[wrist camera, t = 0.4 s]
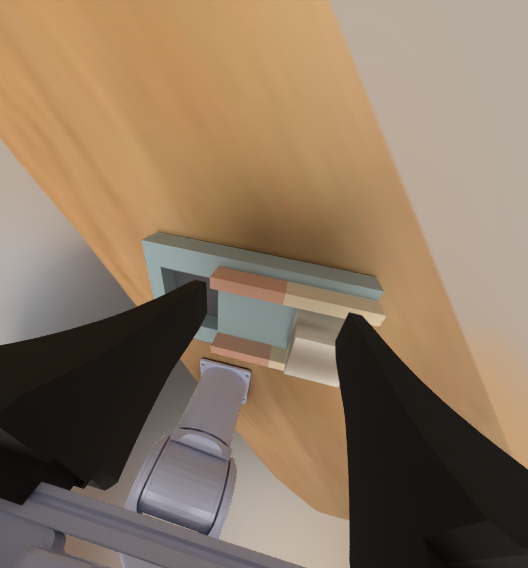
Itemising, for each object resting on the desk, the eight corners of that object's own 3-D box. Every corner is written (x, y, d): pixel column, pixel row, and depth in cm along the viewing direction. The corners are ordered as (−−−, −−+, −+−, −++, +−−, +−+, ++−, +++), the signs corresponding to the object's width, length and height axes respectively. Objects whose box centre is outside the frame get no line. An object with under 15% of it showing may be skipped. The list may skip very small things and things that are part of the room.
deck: (333, 356, 25) (338, 390, 22) (171, 317, 27) (149, 342, 23) (375, 276, 19) (392, 305, 15) (158, 231, 20) (124, 247, 17)
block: (332, 351, 21) (337, 387, 18) (287, 341, 22) (283, 373, 18) (350, 317, 19) (359, 352, 15) (297, 306, 19) (295, 337, 16)
